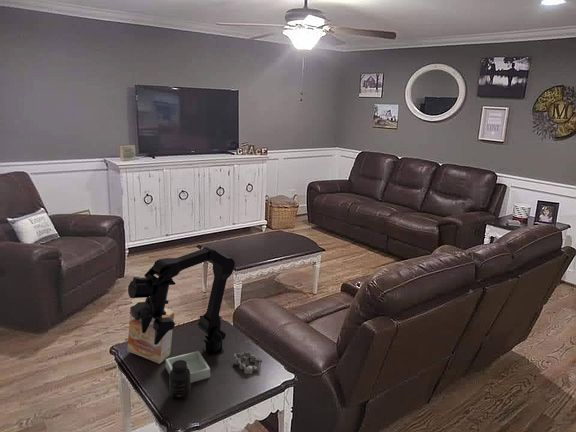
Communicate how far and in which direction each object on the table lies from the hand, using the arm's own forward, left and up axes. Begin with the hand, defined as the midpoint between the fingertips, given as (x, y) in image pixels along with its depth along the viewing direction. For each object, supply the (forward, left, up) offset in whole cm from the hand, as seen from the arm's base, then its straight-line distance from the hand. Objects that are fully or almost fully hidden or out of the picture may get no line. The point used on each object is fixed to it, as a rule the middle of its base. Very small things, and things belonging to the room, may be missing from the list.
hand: (149, 338), depth 152 cm
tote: (-12, +4, -15) cm, 20 cm away
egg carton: (-34, +9, -15) cm, 38 cm away
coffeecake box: (-2, -13, -14) cm, 19 cm away
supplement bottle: (-6, +15, -15) cm, 22 cm away
